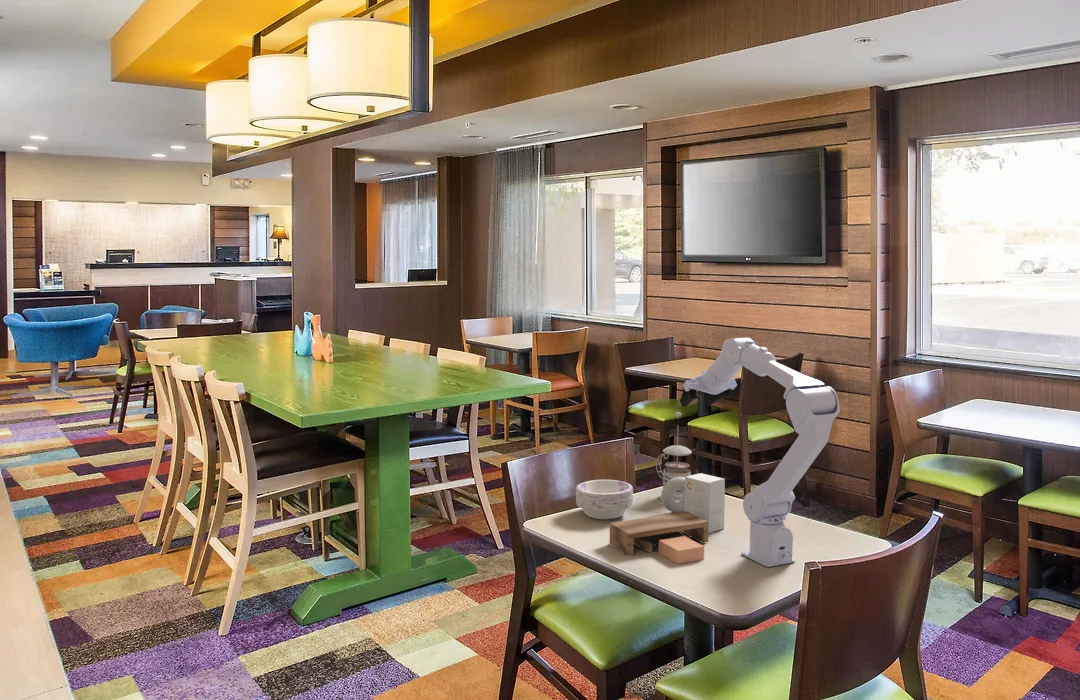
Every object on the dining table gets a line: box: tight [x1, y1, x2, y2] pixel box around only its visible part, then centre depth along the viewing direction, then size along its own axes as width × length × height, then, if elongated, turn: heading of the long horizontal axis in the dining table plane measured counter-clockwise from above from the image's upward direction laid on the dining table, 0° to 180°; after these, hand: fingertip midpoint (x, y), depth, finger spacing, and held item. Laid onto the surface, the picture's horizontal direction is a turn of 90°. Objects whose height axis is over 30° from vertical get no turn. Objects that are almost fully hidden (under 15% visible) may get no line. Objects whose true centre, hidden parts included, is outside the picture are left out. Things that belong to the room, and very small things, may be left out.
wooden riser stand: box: [609, 512, 709, 557], centre depth 205 cm, size 9×22×5 cm, turn 114°
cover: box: [658, 536, 705, 565], centre depth 196 cm, size 8×7×3 cm
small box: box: [685, 472, 726, 534], centre depth 216 cm, size 8×6×13 cm
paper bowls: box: [575, 479, 634, 520], centre depth 227 cm, size 15×15×8 cm
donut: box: [660, 477, 685, 514], centre depth 228 cm, size 10×4×10 cm, turn 105°
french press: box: [655, 411, 693, 501], centre depth 242 cm, size 10×12×25 cm
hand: (694, 403), depth 216 cm, fingers open, 7 cm apart
